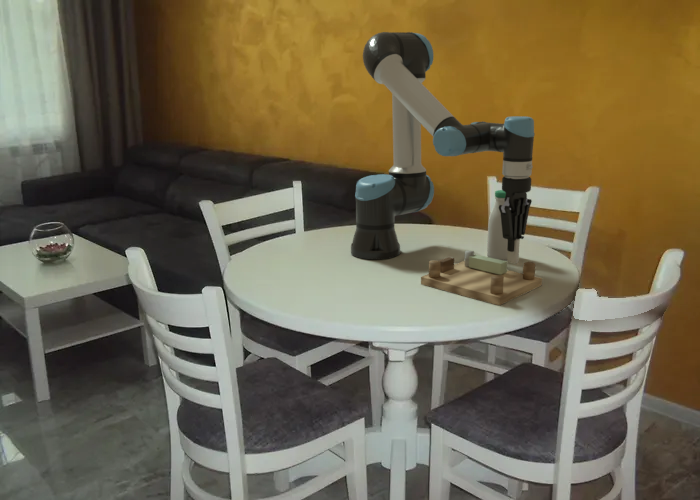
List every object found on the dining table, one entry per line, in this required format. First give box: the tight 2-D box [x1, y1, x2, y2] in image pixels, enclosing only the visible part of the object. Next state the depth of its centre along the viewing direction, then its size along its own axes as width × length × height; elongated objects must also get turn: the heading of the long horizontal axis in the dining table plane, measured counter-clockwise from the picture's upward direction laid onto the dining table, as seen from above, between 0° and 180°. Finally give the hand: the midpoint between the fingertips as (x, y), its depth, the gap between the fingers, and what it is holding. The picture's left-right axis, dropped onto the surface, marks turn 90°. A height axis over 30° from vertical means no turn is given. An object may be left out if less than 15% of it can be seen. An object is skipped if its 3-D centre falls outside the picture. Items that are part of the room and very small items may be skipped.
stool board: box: [420, 256, 543, 306], centre depth 175 cm, size 24×20×6 cm
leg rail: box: [464, 250, 508, 275], centre depth 181 cm, size 12×3×4 cm, turn 45°
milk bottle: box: [486, 189, 508, 261], centre depth 197 cm, size 8×8×20 cm
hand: (512, 261), depth 184 cm, fingers closed
